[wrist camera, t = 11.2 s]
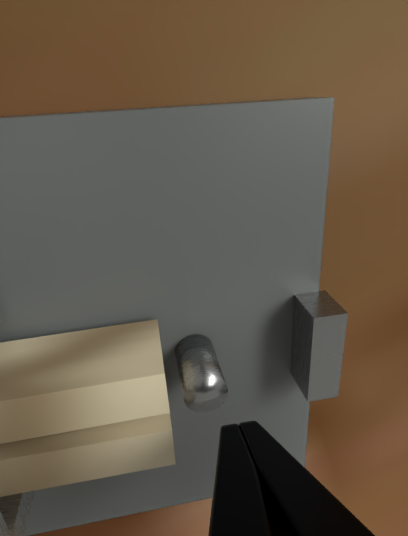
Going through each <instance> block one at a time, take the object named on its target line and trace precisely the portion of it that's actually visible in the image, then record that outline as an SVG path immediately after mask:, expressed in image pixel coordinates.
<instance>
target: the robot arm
mask: <svg viewBox="0 0 408 536" xmlns="http://www.w3.org/2000/svg"><path fill="white" fill-rule="evenodd" d="M209 536H375V535H374V534H373V533H372V532H371V531H370V530H369V529H368V528H367V527H365V526H364V525H363V524H362V523H361V522H360V521H359V520H358V519H357V518H356V517H355V516H354V515H353V514H352V513H351V512H350V511H349V510H348V509H347V508H346V507H345V506H344V505H343V504H342V503H341V502H340V501H339V500H338V499H337V498H336V497H334V496H333V495H332V494H331V493H330V492H329V491H328V490H327V489H326V488H325V487H324V486H323V485H322V484H321V483H320V482H319V481H318V480H317V479H316V478H315V477H314V476H313V475H312V474H311V473H310V472H309V471H308V470H307V469H306V468H305V467H303V466H302V465H301V464H300V463H299V462H298V461H297V460H296V459H295V458H294V457H293V456H292V455H291V454H290V453H289V452H288V451H287V450H286V449H285V448H284V447H283V446H282V445H281V444H280V443H279V442H278V441H277V440H276V439H275V438H274V437H273V436H271V435H270V434H269V433H268V432H267V431H266V430H265V429H264V428H263V427H262V426H261V425H260V424H259V423H258V422H257V421H254V420H253V421H246V422H241V423H239V425H238V424H236V423H234V424H228V425H223V426H221V429H220V437H219V446H218V455H217V464H216V473H215V482H214V491H213V500H212V509H211V518H210V527H209Z"/></svg>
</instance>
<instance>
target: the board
mask: <svg viewBox="0 0 408 536" xmlns="http://www.w3.org/2000/svg"><path fill="white" fill-rule="evenodd" d="M333 109H334V97H310V98H294V99H278V100H261V101H245V102H229V103H213V104H197V105H181V106H165V107H149V108H132V109H116V110H100V111H84V112H68V113H52V114H36V115H20V116H3V117H0V343H1V342H8V341H14V340H21V339H28V338H34V337H41V336H48V335H55V334H61V333H68V332H75V331H81V330H88V329H95V328H101V327H108V326H115V325H122V324H128V323H135V322H142V321H148V320H155V319H158V326H159V334H160V341H161V349H162V356H163V364H164V371H165V379H166V386H167V394H168V401H169V409H170V418H171V426H172V434H173V444H174V453H175V463H176V464H175V465H169V466H164V467H159V468H153V469H148V470H142V471H137V472H132V473H126V474H121V475H116V476H110V477H105V478H99V479H94V480H89V481H83V482H78V483H72V484H67V485H62V486H56V487H51V488H46V489H40V490H35V492H34V496H33V501H32V505H31V509H30V513H29V518H28V522H27V526H26V531H25V535H24V536H29V535H34V534H39V533H44V532H48V531H53V530H58V529H63V528H68V527H72V526H77V525H82V524H87V523H92V522H96V521H101V520H106V519H111V518H116V517H121V516H125V515H130V514H135V513H140V512H145V511H149V510H154V509H159V508H164V507H169V506H173V505H178V504H183V503H188V502H193V501H198V500H202V499H207V498H212V497H213V491H214V482H215V473H216V464H217V455H218V446H219V437H220V429H221V426H223V425H228V424H234V423H236V424H238V425H239V423H241V422H246V421H253V420H254V421H257V422H258V423H259V424H260V425H261V426H262V427H263V428H264V429H265V430H266V431H267V432H268V433H269V434H270V435H271V436H273V437H274V438H275V439H276V440H277V441H278V442H279V443H280V444H281V445H282V446H283V447H284V448H285V449H286V450H287V451H288V452H289V453H290V454H291V455H292V456H293V457H294V458H295V459H296V460H297V461H298V462H299V463H300V464H301V465H302V466H303V467H305V456H306V443H307V431H308V418H309V406H310V401H309V402H307V400H306V398H305V397H304V395H303V393H302V392H301V390H300V388H299V387H298V385H297V383H296V381H295V380H294V378H293V376H292V375H291V373H290V367H291V348H292V328H293V309H294V295H295V294H302V293H310V292H317V291H319V282H320V270H321V257H322V245H323V233H324V220H325V208H326V195H327V183H328V171H329V158H330V146H331V133H332V121H333ZM192 334H201V335H204V336H206V337H208V338H209V339H210V340H211V342H212V344H213V347H214V350H215V352H216V355H217V358H218V361H219V364H220V367H221V370H222V373H223V376H224V379H225V382H226V385H227V388H228V396H227V399H226V401H225V402H224V403H223V404H222V405H221V406H220V407H219V408H217V409H215V410H213V411H210V412H204V413H201V412H195V411H193V410H191V409H189V408H188V407H187V406H186V404H185V402H184V398H183V393H182V387H181V382H180V376H179V371H178V365H177V360H176V355H175V349H176V346H177V344H178V343H179V341H180V340H181V339H183V338H184V337H186V336H188V335H192Z"/></svg>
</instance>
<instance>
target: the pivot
mask: <svg viewBox="0 0 408 536" xmlns="http://www.w3.org/2000/svg"><path fill="white" fill-rule="evenodd" d="M347 317H348V313H347V312H346V311H345V310H344V309H343V308H342V307H341V306H340V305H339V304H338V303H337V302H336V301H335V300H334V299H333V298H332V297H331V296H330V295H329V294H328V293H327V292H326V291H325V290H324V291H317V292H310V293H302V294H295V295H294V309H293V328H292V348H291V367H290V373H291V375H292V376H293V378H294V380H295V381H296V383H297V385H298V387H299V388H300V390H301V392H302V393H303V395H304V397H305V398H306V400H307V402H309V401H315V400H321V399H326V398H332V397H337V396H338V392H339V384H340V375H341V367H342V358H343V350H344V342H345V333H346V325H347ZM175 355H176V360H177V365H178V371H179V376H180V382H181V387H182V393H183V398H184V402H185V404H186V406H187V407H188V408H189V409H191V410H193V411H195V412H201V413H204V412H210V411H213V410H215V409H217V408H219V407H220V406H221V405H222V404H223V403H224V402H225V401H226V399H227V396H228V388H227V385H226V382H225V379H224V376H223V373H222V370H221V367H220V364H219V361H218V358H217V355H216V352H215V350H214V347H213V344H212V342H211V340H210V339H209V338H208V337H206V336H204V335H201V334H192V335H188V336H186V337H184V338H183V339H181V340H180V341H179V343H178V344H177V346H176V349H175Z"/></svg>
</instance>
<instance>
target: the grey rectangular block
mask: <svg viewBox="0 0 408 536" xmlns="http://www.w3.org/2000/svg"><path fill="white" fill-rule="evenodd" d="M34 492H35V491H29V492H24V493H19V494H13V495H8V496H3V497H0V536H24V535H25V531H26V526H27V522H28V518H29V513H30V509H31V505H32V501H33V496H34Z"/></svg>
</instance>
